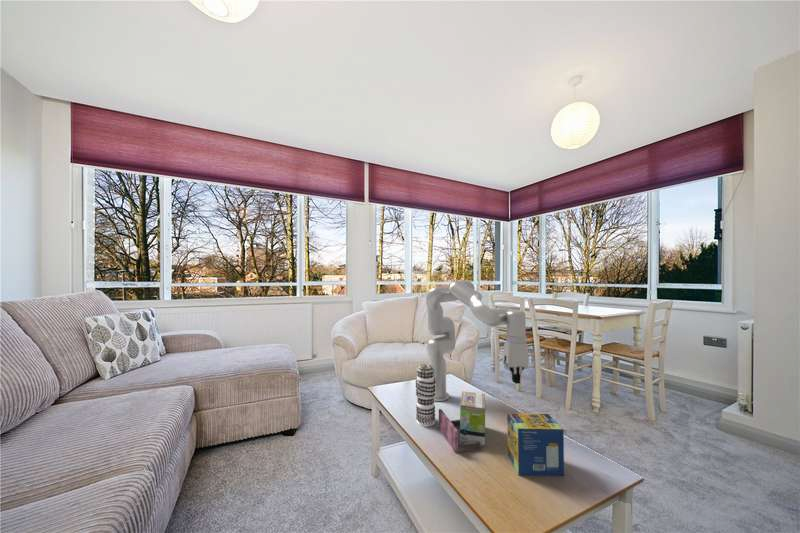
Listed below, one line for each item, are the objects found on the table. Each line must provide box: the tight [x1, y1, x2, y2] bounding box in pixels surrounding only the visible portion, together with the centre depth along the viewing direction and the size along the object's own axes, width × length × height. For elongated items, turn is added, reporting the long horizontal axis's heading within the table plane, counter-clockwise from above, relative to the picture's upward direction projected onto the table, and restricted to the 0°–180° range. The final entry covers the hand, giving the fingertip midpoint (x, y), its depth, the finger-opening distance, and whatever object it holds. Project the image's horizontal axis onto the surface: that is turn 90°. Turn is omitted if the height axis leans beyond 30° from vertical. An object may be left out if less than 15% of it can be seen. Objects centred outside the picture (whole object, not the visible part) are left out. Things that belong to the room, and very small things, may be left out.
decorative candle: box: [415, 363, 436, 427], centre depth 131 cm, size 9×9×25 cm
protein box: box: [506, 413, 565, 477], centre depth 100 cm, size 10×15×16 cm
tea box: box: [459, 390, 486, 446], centre depth 120 cm, size 15×10×15 cm
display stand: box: [438, 408, 481, 454], centre depth 117 cm, size 18×10×8 cm, turn 12°
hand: (516, 382), depth 124 cm, fingers closed
